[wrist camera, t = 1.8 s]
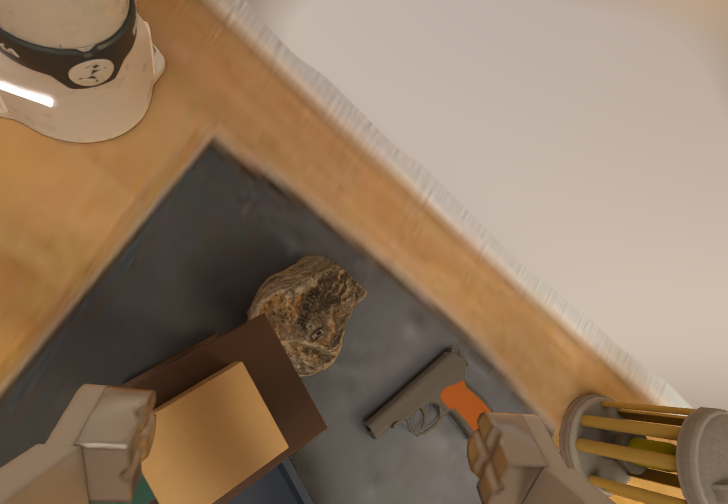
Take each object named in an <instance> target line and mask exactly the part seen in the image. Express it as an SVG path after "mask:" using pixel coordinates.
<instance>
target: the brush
mask: <svg viewBox="0 0 728 504" xmlns="http://www.w3.org/2000/svg"><path fill="white" fill-rule="evenodd" d="M152 411H153V412H154V413H155V414H156V430H155V436H154V440H153V444H152V447H151V450H150V453H149V456H148V457H147V458H146V459H145V460H144V461H142V462H141V465H142V475H141V478H140V481H139V484H138V486H137V489H136V492H135V494H134V497H133V500H132V503H89V504H148V503H149V502H151V501H152V500H154V499H155V498H156V499H157V501H158V503H159V504H212V503H213V502H215V501H216V500H218V499H219V498H220V497H222V496H223V495H224V494H226V493H227V492H229V491H230V490H231V489H233V488H234V487H235V486H237V485H238V484H239V483H241V482H242V481H244V480H245V479H246V478H248V477H249V476H250V475H252V474H253V473H255V472H256V471H257V470H259V469H260V468H261V467H263V466H264V465H266V464H267V463H268V462H270V461H271V460H272V459H274V458H275V457H276V456H278V455H279V454H281V453H282V452H283V451H285V450H286V449H287V448H288V445H287V443H286V441H285V439H284V438H283V436H282V434H281V432H280V430H279V428H278V427H277V425H276V423H275V421H274V419H273V417H272V415H271V414H270V412H269V410H268V408H267V406H266V404H265V403H264V401H263V399H262V397H261V395H260V393H259V392H258V390H257V388H256V386H255V384H254V382H253V381H252V379H251V377H250V375H249V373H248V371H247V369H246V368H245V366H244V364H243V362H241V361H235V362H233V363H232V364H230V365H228V366H227V367H225V368H223V369H221V370H220V371H218V372H216V373H215V374H213V375H211V376H210V377H208V378H206V379H204V380H203V381H201V382H199V383H198V384H196V385H194V386H193V387H191V388H189V389H188V390H186V391H184V392H182V393H181V394H179V395H177V396H176V397H174V398H172V399H171V400H169V401H167V402H165V403H164V404H162V405H160V406H159V407H157V408H155V409H154V410H152Z"/></svg>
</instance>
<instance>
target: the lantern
mask: <svg viewBox="0 0 728 504" xmlns="http://www.w3.org/2000/svg"><path fill="white" fill-rule="evenodd" d="M621 408H624V409H634V410H643V411H653V412H662V413H672V414H682V415H688V416H678V415H669V414H659V413H650V412H641V411H631V410H622V409H621ZM629 420H637V421H645V422H653V423H661V424H669V425H677V426H681V427H675V426H668V425H660V424H652V423H644V422H637V421H629ZM646 436H651V437H657V438H663V439H670V440H676V441H677V446H675V445H673V444H671V443H666V442H660V441H654V440H648V439H647V438H646ZM560 451H561V455H562V458H563V460H564V462H565V464H566V465H567V467H568V468H571V469H574V470H576V471H577V472H578V473H579V474H580V475H582V476H583V477H584V478H585V479H586V480H588V481H589V482H590V483H591V484H593V485H594V486H595V487H596V488H597V489H599V490H600V491H601V492H602V493H603V494H605V495H606V496H607V497H611V496H613V495H618V496H622V497H625V498H629V499H632V500H635V501H639V502H642V503H646V504H728V411H725V410H721V409H715V408H703V407H700V408H698V409H688V408H677V407H666V406H655V405H644V404H633V403H623V402H615V401H613V400H611V399H610V398H608V397H606V396H601V395H590V394H587V395H584V396H581V397H579V398H577V399H576V400H575V401H574V402H573V403H572V404H571V405H570V406H569V407H568V409H567V411H566V413H565V415H564V417H563V420H562V425H561V430H560ZM648 468H652V469H648ZM653 469H656V470H653ZM657 470H661V471H657ZM662 471H666V472H677V475H675V474H671V473H666V472H662ZM631 477H635V478H639V479H643V480H647V481H651V482H655V483H659V484H663V485H667V486H671V487H676V488H680V489H681V490H682V493H683V496H684V498H685V499H686V500H683V499H679V498H675V497H672V496H668V495H664V494H660V493H657V492H653V491H649V490H645V489H641V488H638V487H634V486H630V485H627V483H628V482H629V481H630V479H631Z"/></svg>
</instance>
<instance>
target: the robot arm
mask: <svg viewBox="0 0 728 504" xmlns="http://www.w3.org/2000/svg"><path fill="white" fill-rule="evenodd" d="M165 66H166V65H165V59H164V57H163V55H162V54H161V52H160V51H159V50H158V49H157V47H156V46H155V45H154V44H153V42H152V40H151V32H150V27H149V25H148V23H147V22H146V21H143V19H142V18H141V17H140V15H139V14H138V13H137V7H136V2H135V0H0V117H3V118H9V119H14V120H16V121H18V122H21V123H23V124H24V125H26V126H28V127H30V128H31V129H33V130H35V131H37V132H39V133H41V134H44V135H46V136H49V137H52V138H55V139H58V140H63V141H68V142H76V143H92V142H100V141H105V140H109V139H112V138H115V137H118V136H120V135H122V134H124V133H126V132H127V131H129V130H130V129H132V128H133V127H134V126H135V125H136V124H137V123H138V122H139V121H140V120H141V119H142V118H143V116H144V115H145V113H146V111H147V109H148V107H149V104H150V101H151V96H152V90H153V86H154V83H155V82H156V81H157V80H158V78H159V77H160V76H161V75H162V73H163V72H164V70H165ZM155 403H156V393H155V390H152V389H141V388H130V387H119V386H104V385H93V384H84V385H83V386H81V387H80V388H79V389H78V390H77V392H76V394H75V395H74V397H73V399H72V400H71V402H70V404H69V405H68V407H67V409H66V410H65V412H64V414H63V415H62V417H61V418H60V420H59V422H58V423H57V425H56V427H55V428H54V430H53V432H52V433H51V435H50V437H49V438H48V440H47V441H46V443H45V444H37V445H35V446H34V447H32V448H30V449H29V450H27V451H26V452H24V453H23V454H21V455H20V456H18V457H17V458H15V459H13V460H12V461H10V462H9V463H7V464H6V465H4V466H3V467H1V468H0V504H89V503H132V500H133V497H134V494H135V492H136V489H137V486H138V484H139V481H140V478H141V475H142V465H141V462H142V461H144V460H145V459H146V458H147V457H148V456H149V453H150V450H151V447H152V444H153V440H154V436H155V430H156V414H155V413H154V412H153V411H152V410H153V408H154V405H155ZM476 422H477V424H478V427H479V428H478V429H476V430H475V431H474V432H472V433H471V435H470V437H469V440H468V444H467V457H468V462H469V466H470V469H471V471H472V472H473V473H474V474H475V475H476V476H477V477H478V478H479V481H478V484H477V490H478V493H479V496H480V499H481V501H482V504H616V503H614V502H613V501H612V500H611V499H609V498H608V497H607V496H606V495H605V494H603V493H602V492H601V491H600V490H599V489H597V488H596V487H595V486H594V485H593V484H591V483H590V482H589V481H588V480H586V479H585V478H584V477H583V476H582V475H580V474H579V473H578V472H577V471H576V470H574V469H571V468H568V467H567V465H566V464H565V462H564V460H563V458H562V456H561V454H560V453H559V451H558V449H557V447H556V445H555V444H554V442H553V440H552V438H551V436H550V434H549V433H548V431H547V429H546V427H545V425H544V424H543V422H542V420H541V418H540V417H539V416H537V415H532V414H516V413H500V412H482V413H481V414H480V415H479V417H478V419H477V421H476Z"/></svg>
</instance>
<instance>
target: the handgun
mask: <svg viewBox="0 0 728 504" xmlns="http://www.w3.org/2000/svg"><path fill="white" fill-rule="evenodd" d="M467 366H468V363H467V361H466V360H465V358H464V357H460V356H459V355H458V352H457V349H456V348H450V349H448V352H443V354H442V355H441V356H440V357H439V358H438V359H436V360H435V361H434V362H433V363H432V364H431V365H430V366H428V367H427V368H426V369H425V370H424V371H423V372H422V373H420V374H419V375H418V376H417V377H416V378H415V379H414V380H412V381H411V382H410V383H409V384H408V385H407V386H405V387H404V388H403V389H402V390H401V391H400V392H399V393H397V394H396V395H395V396H394V397H393V398H392V399H391V400H389V401H388V402H387V403H386V404H385V405H384V406H383V407H381V408H380V409H379V410H378V411H377V412H376V413H375V414H373V415H372V416H371V417H370V418H369V419H368V420H367V421H364V424H363V425H364V427H365V428H366V430H367V432H368V433H369V434H370V436H371V437H372V438H373V439H377V438H379V437H380V436H381V435H382V434H383V433H384V432H385V431H386V430H387V429H388V428H389V427H391V428H394V427H396V426H397V425H398V424H400V423H401V422H402V421H404V420H406V421H407V422H408V428H409V431H410V432H412V433H413V434H415V435H416V436H419V435H423V434H425V433H427V432H428V431H430V430H431V429H433V428H434V427H435V426H436V425H437V424H438V423H439V422H440V420H441V419H442V417H443V416H444V415H445V414H446V413H449V414H450V415H451V416H452V417H453V419H454V420H455V421H456V422H457V424H458V425H459V426H460V428H461V429H462V430H463V432H464V433H465V435H466V436H467V437H468V439H469V437H470V435H471V433H472V432H474V431H475V430H476V429H478V428H479V427H478V424H477V422H476V421H477V419H478V417H479V415H480V414H481V413H482V412H493V411H492V409H491V408H490V407H489V405H488V404H487V403H486V402H485V401H484V399H483V398H482V397H480V396H479V395H478V394H477V393H476V392H475V391H474V390H472V389H471V388H470V387H468V386H467V384H466V381H465V378H464V376H465V369H466V367H467ZM427 403H432V404H434V405H435V407H436V410H437V412H438V414H439V418H438V421H437V422H436V423H435V424H434V425H433V426H431V427H430V428H428V429H427V430H425V431H424V432H421V433H415V432H414V431H413V430H412V429H411V427H410V416H411V415H412V414H413V413H414V412H416V411H417V410H418V409H420V410H421V412H422V414H423V416H424V418H423V423H422V425H421V427H420V428H422V427H423V425H424V424H425V420H426V408H427Z"/></svg>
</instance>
